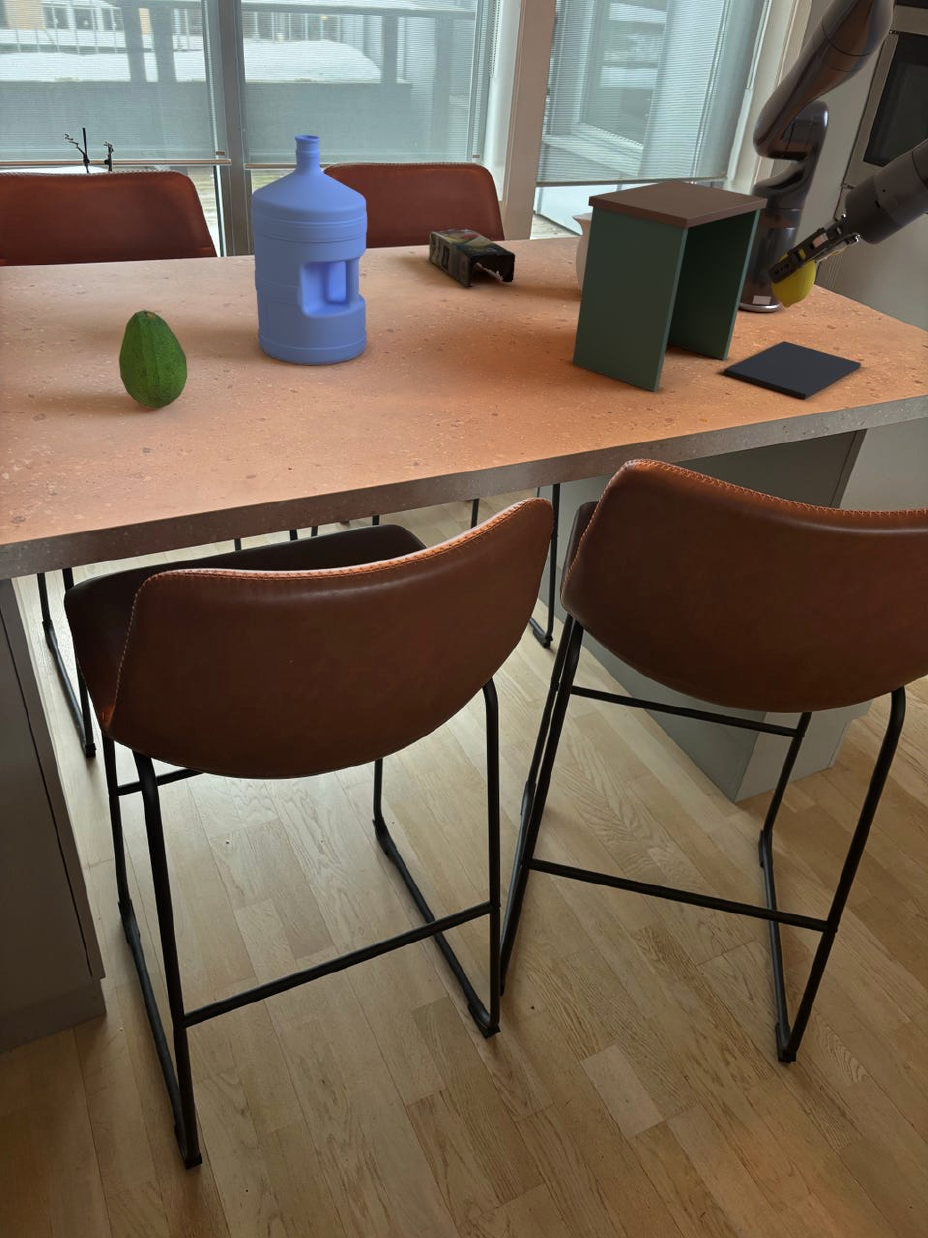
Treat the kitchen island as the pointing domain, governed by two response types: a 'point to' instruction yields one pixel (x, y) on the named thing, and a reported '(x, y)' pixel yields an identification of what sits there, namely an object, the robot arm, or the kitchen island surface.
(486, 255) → the dark printed box
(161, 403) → the avocado
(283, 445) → the kitchen island surface
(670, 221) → the cupboard
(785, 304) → the lemon
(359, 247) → the water jug
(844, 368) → the mat
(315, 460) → the kitchen island surface
